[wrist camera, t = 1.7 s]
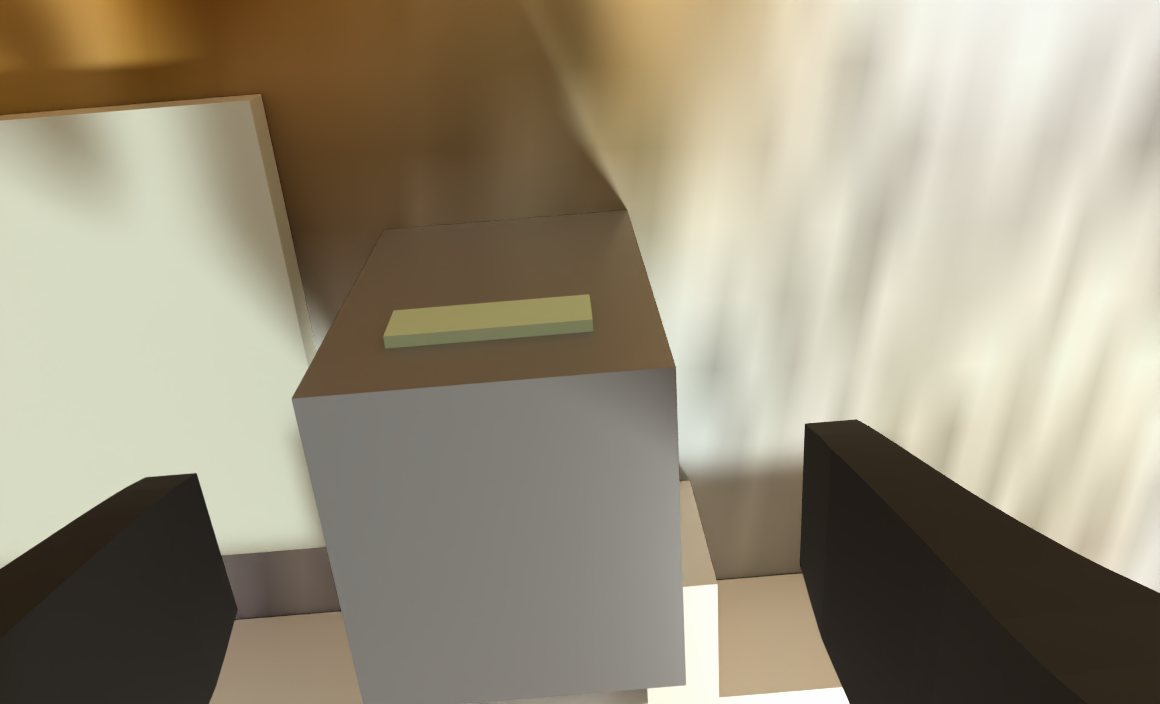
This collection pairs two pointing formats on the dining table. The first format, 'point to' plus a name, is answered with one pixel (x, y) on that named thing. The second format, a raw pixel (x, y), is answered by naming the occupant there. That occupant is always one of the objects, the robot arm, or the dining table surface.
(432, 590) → the block
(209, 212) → the coaster
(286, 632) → the power strip
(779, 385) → the dining table surface
